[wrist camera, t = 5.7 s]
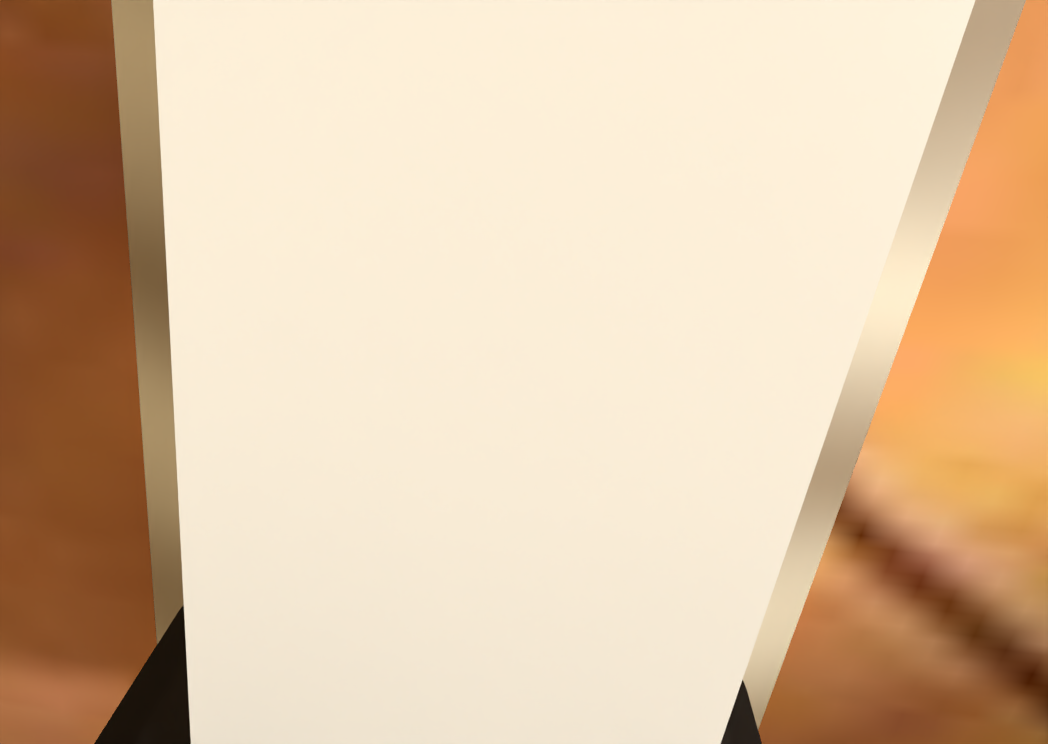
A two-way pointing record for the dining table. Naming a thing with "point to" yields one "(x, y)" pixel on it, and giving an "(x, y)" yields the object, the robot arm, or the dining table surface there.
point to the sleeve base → (854, 410)
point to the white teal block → (513, 345)
